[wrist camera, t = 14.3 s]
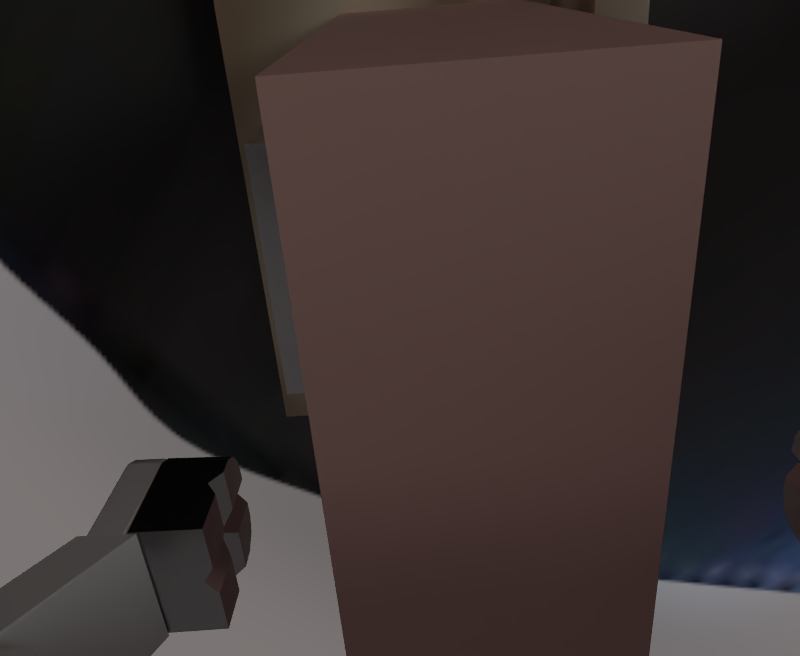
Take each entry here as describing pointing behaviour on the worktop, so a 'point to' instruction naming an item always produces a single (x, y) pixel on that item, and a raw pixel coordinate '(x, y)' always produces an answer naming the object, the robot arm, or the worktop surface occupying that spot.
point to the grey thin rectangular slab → (274, 260)
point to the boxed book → (492, 313)
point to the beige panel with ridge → (284, 30)
